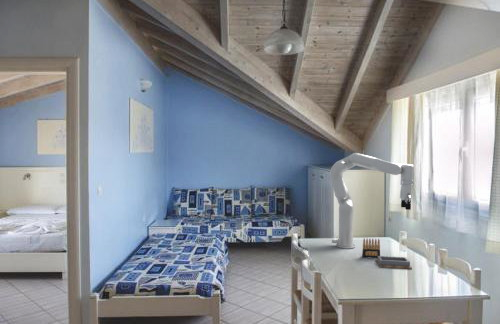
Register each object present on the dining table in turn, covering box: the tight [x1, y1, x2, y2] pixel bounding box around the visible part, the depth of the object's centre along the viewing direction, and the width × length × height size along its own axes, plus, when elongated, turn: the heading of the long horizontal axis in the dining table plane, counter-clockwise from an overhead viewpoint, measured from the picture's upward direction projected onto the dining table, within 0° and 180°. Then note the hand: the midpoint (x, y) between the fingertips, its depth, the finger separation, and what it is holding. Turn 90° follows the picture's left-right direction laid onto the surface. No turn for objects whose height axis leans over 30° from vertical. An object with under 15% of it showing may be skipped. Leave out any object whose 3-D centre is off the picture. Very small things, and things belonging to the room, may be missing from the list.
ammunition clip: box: [361, 238, 381, 259], centre depth 230 cm, size 11×2×12 cm, turn 84°
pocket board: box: [375, 255, 413, 270], centre depth 215 cm, size 17×14×4 cm
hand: (405, 208), depth 244 cm, fingers open, 9 cm apart
